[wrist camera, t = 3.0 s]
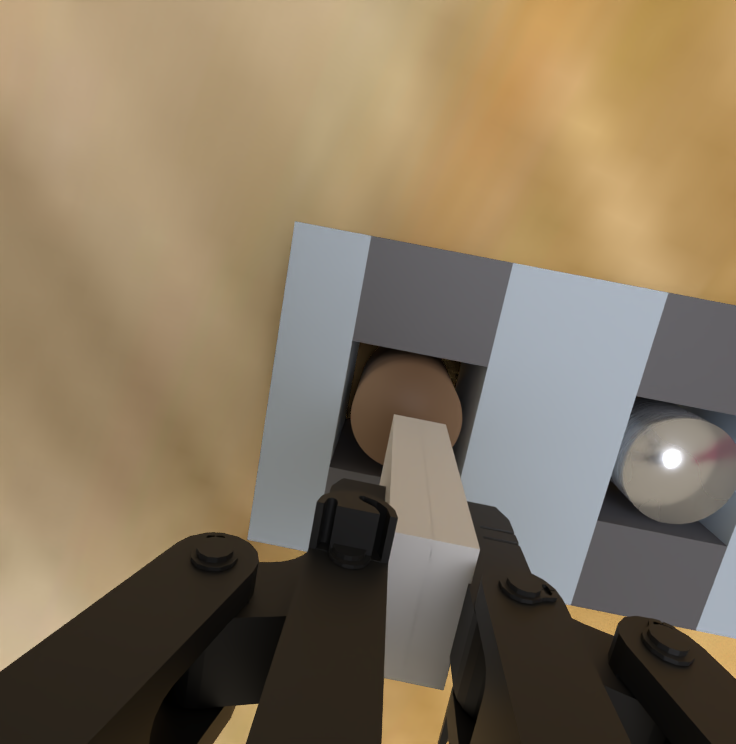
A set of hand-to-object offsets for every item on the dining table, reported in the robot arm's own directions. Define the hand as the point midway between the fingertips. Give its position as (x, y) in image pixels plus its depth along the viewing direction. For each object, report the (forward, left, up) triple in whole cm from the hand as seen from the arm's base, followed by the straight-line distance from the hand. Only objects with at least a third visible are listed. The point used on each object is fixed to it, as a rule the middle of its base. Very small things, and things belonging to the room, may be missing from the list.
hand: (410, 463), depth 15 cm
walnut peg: (0, 0, -10) cm, 10 cm away
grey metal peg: (+8, +7, -10) cm, 14 cm away
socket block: (+4, +3, -10) cm, 11 cm away
